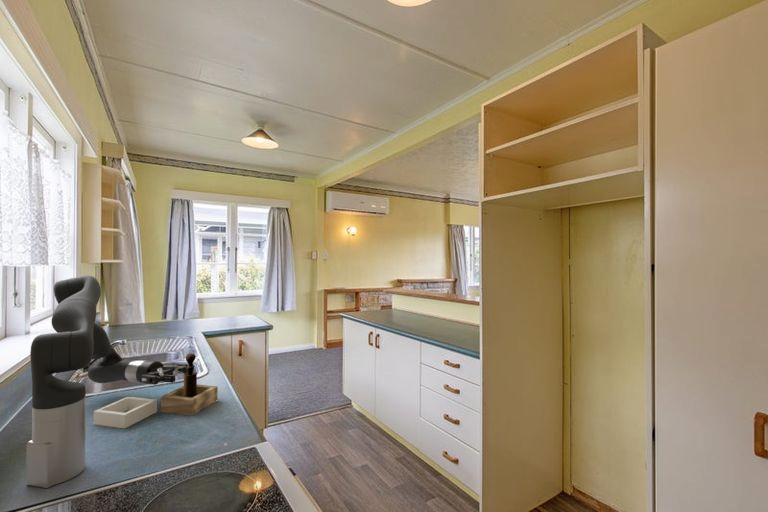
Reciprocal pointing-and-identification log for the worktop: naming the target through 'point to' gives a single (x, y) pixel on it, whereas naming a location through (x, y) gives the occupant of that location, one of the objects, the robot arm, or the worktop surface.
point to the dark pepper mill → (190, 377)
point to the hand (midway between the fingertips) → (184, 374)
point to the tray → (116, 417)
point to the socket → (189, 400)
